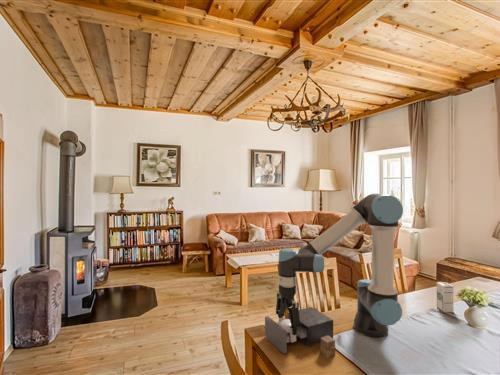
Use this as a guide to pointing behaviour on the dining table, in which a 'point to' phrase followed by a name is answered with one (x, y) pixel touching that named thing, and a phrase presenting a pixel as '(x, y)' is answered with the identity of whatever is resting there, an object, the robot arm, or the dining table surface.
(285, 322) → the disc
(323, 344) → the pedestal
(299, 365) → the dining table surface
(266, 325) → the grey drawer
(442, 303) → the syrup box
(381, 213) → the robot arm
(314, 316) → the housing
